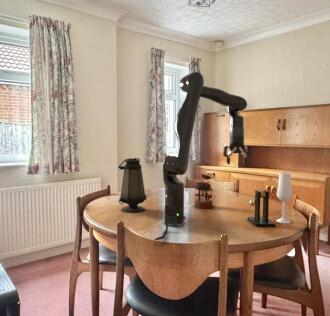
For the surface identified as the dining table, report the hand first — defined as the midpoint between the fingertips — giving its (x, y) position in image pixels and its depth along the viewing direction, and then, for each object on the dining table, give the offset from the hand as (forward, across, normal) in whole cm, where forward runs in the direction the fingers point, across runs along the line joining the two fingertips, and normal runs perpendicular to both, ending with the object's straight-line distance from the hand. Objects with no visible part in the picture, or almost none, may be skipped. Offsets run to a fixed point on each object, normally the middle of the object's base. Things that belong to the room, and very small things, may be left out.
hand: (236, 164), depth 164 cm
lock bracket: (+26, +5, -22) cm, 35 cm away
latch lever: (+17, +5, -17) cm, 25 cm away
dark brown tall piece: (+27, -17, +11) cm, 33 cm away
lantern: (+26, -58, +4) cm, 64 cm away
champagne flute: (+27, +17, -20) cm, 38 cm away
